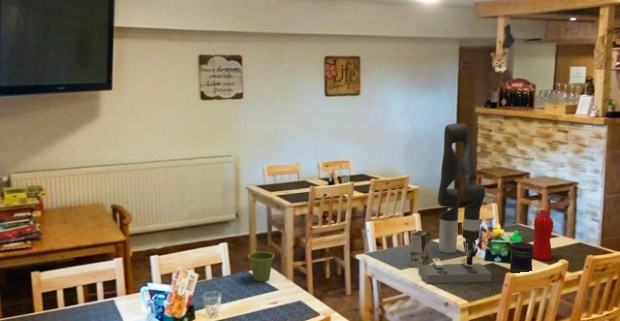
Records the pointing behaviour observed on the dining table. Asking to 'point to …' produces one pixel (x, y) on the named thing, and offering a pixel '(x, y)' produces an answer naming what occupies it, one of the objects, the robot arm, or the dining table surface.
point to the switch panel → (454, 273)
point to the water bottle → (542, 236)
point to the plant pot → (261, 265)
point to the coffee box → (420, 248)
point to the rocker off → (437, 262)
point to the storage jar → (521, 257)
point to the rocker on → (466, 262)
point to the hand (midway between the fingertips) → (469, 264)
